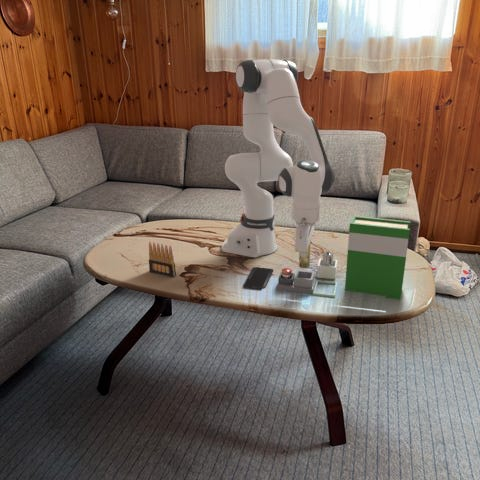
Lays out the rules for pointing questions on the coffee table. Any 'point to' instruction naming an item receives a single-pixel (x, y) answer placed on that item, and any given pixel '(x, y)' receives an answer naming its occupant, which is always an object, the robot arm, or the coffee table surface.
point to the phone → (258, 278)
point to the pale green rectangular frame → (324, 293)
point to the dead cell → (327, 259)
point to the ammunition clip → (161, 260)
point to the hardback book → (377, 256)
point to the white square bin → (327, 270)
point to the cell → (305, 259)
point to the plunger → (286, 273)
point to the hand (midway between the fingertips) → (304, 253)
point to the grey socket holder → (298, 282)
